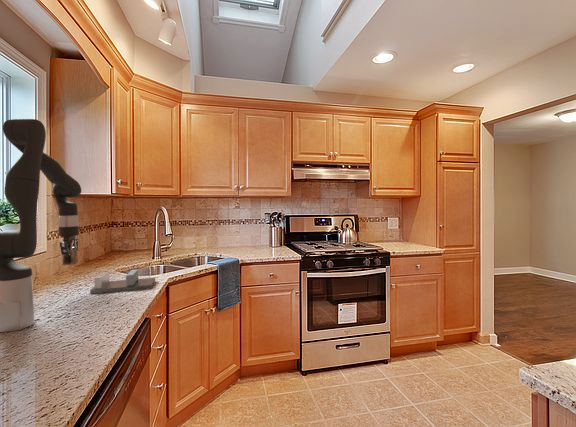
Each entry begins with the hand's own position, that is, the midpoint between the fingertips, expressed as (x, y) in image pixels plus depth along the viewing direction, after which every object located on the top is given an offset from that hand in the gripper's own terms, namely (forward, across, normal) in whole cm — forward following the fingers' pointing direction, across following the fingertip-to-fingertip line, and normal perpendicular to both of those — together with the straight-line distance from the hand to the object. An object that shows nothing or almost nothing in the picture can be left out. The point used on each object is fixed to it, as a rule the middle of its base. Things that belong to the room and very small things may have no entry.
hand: (70, 262), depth 139 cm
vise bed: (+15, +6, -21) cm, 26 cm away
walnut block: (+1, 0, 0) cm, 1 cm away
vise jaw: (+13, +6, -24) cm, 28 cm away
